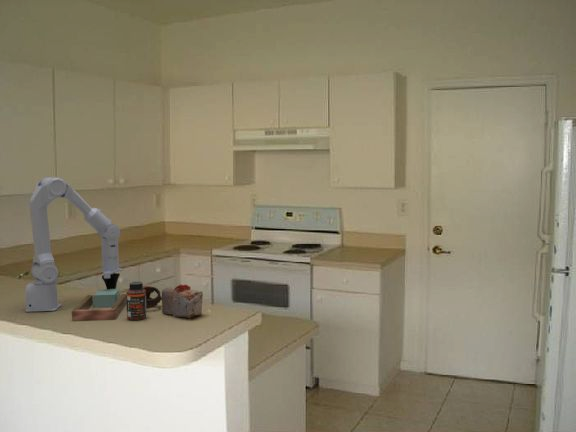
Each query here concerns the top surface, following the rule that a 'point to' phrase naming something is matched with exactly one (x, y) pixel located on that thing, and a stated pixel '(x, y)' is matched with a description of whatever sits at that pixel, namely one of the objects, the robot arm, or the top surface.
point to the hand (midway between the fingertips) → (111, 294)
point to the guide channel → (97, 310)
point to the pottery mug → (152, 301)
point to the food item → (182, 301)
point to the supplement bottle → (136, 301)
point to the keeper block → (106, 297)
